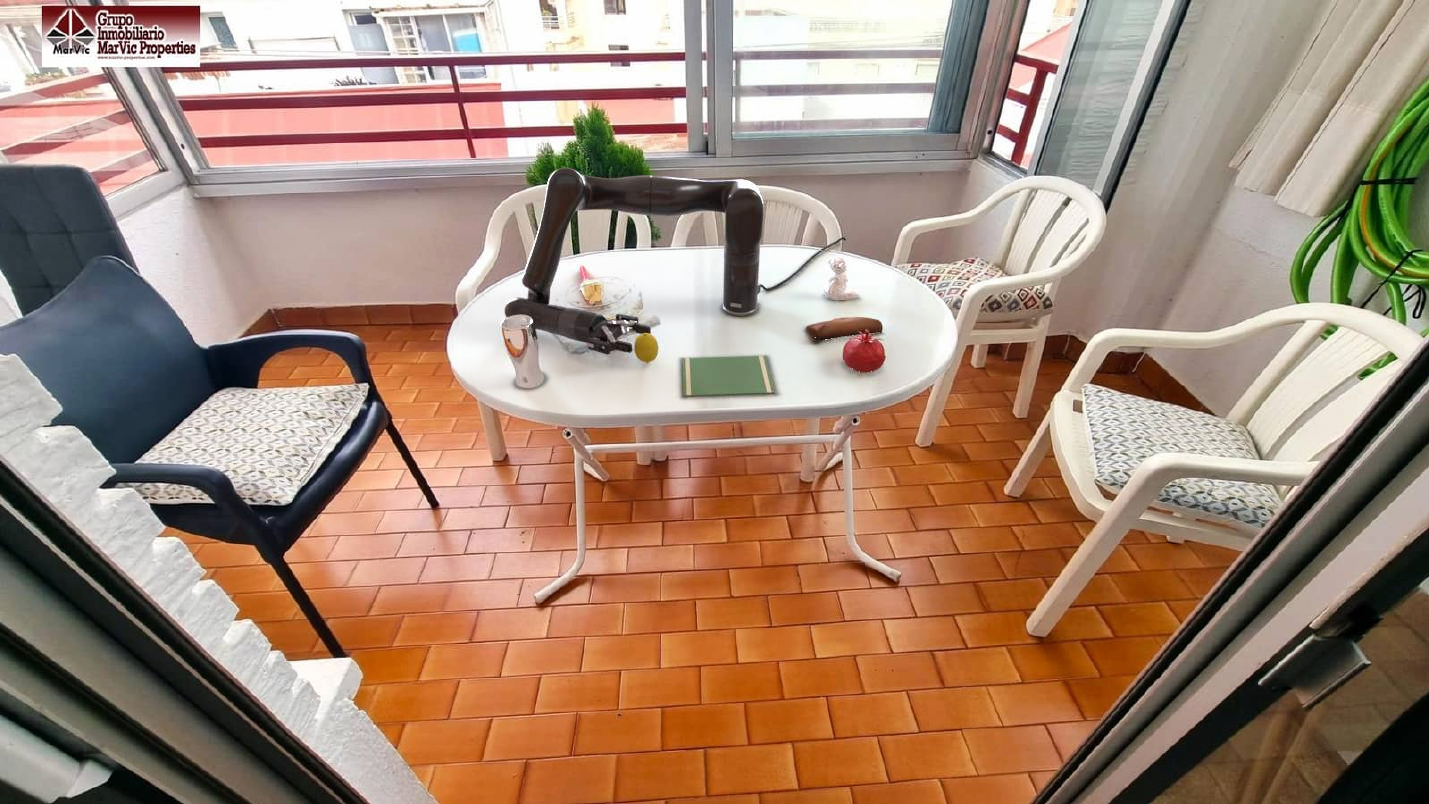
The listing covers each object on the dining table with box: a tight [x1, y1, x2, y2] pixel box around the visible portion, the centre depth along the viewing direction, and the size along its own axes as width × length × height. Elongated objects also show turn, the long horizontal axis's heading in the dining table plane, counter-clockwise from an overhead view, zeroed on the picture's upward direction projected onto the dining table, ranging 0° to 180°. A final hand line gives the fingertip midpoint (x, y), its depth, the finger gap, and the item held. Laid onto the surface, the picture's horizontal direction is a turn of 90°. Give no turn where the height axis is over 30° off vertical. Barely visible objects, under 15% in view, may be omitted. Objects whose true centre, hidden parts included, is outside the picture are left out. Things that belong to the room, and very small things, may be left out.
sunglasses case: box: [805, 316, 884, 343], centre depth 147 cm, size 18×7×7 cm
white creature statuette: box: [823, 255, 860, 301], centre depth 161 cm, size 10×9×12 cm
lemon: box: [633, 333, 659, 364], centre depth 134 cm, size 6×6×8 cm
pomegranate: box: [842, 330, 887, 374], centre depth 132 cm, size 10×10×9 cm
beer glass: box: [500, 315, 545, 389], centre depth 125 cm, size 7×7×15 cm
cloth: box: [681, 355, 776, 398], centre depth 132 cm, size 15×20×1 cm
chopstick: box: [579, 265, 589, 280], centre depth 168 cm, size 24×2×5 cm
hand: (641, 339), depth 133 cm, fingers open, 8 cm apart
